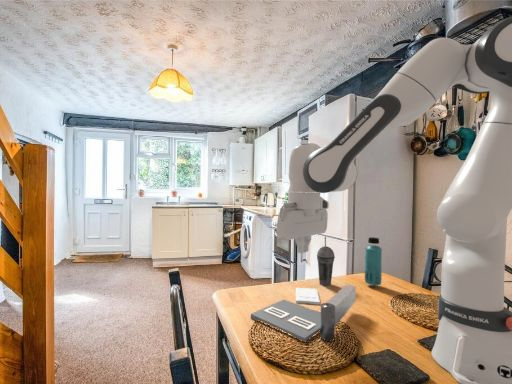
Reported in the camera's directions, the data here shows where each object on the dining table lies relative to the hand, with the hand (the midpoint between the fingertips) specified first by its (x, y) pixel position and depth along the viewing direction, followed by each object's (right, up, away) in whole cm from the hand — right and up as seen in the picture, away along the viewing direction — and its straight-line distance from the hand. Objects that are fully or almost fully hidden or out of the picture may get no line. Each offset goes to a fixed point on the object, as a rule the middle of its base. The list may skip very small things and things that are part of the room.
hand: (302, 252), depth 77 cm
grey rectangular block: (+11, -21, +3) cm, 24 cm away
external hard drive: (+5, -22, +23) cm, 32 cm away
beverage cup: (+16, -22, +37) cm, 46 cm away
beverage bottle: (+35, -22, +36) cm, 54 cm away
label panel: (-2, -21, +4) cm, 22 cm away
